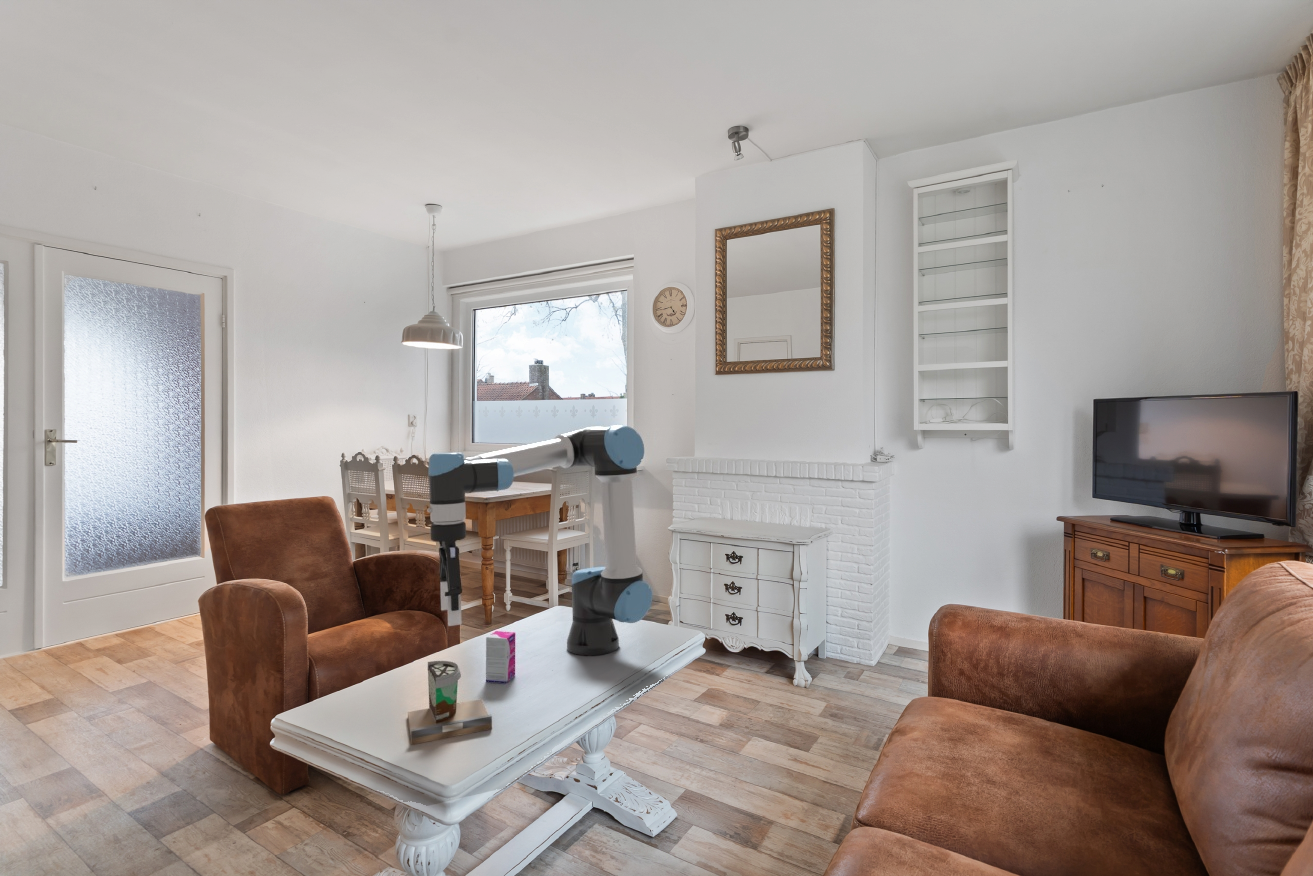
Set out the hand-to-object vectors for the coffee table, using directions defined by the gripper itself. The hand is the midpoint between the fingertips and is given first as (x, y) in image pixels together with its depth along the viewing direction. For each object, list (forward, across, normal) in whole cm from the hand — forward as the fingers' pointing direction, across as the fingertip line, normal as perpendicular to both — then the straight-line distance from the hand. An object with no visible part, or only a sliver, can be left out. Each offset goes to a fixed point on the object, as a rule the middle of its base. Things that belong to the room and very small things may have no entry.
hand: (450, 617), depth 144 cm
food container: (+21, +1, -2) cm, 21 cm away
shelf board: (+22, +4, -2) cm, 22 cm away
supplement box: (+22, -17, +14) cm, 31 cm away
